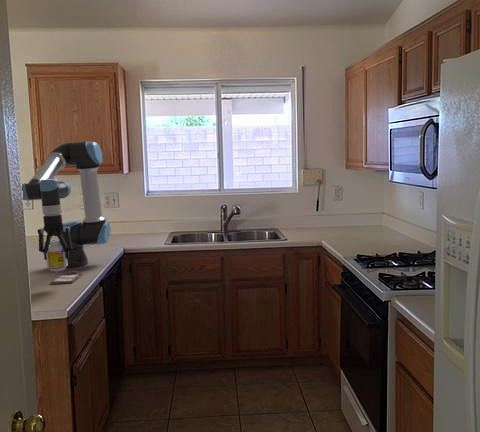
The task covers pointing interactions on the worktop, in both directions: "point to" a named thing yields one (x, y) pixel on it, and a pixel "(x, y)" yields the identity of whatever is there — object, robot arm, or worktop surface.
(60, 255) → the supplement bottle
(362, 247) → the worktop surface
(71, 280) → the clipboard
